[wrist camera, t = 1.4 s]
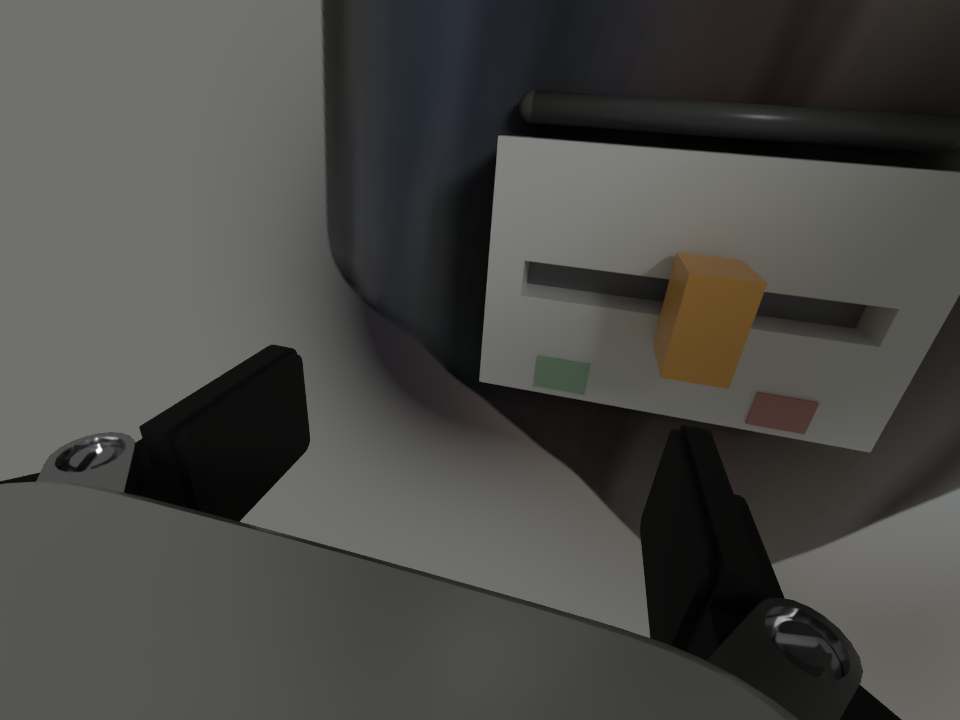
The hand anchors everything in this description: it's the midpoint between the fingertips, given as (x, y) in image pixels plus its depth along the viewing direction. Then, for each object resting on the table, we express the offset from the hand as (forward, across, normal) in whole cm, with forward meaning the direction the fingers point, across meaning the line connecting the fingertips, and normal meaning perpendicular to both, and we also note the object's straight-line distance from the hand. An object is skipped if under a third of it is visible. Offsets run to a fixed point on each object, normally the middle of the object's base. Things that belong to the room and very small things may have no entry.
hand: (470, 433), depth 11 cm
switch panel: (+21, -8, -1) cm, 22 cm away
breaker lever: (+18, -8, 0) cm, 19 cm away
